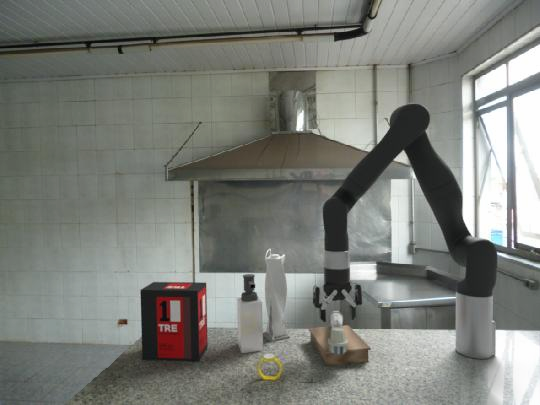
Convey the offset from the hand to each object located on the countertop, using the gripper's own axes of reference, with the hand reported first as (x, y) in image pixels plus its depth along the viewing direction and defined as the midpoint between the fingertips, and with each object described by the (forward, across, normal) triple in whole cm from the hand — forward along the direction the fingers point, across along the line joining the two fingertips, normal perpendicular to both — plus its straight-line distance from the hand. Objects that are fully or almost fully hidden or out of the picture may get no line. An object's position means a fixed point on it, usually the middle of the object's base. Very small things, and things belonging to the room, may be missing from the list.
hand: (337, 320), depth 107 cm
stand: (+9, 0, 0) cm, 9 cm away
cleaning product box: (+9, -47, +7) cm, 49 cm away
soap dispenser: (+9, -25, +6) cm, 27 cm away
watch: (+9, -22, -12) cm, 27 cm away
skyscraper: (+9, -16, +15) cm, 24 cm away
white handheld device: (+5, 0, 0) cm, 5 cm away
